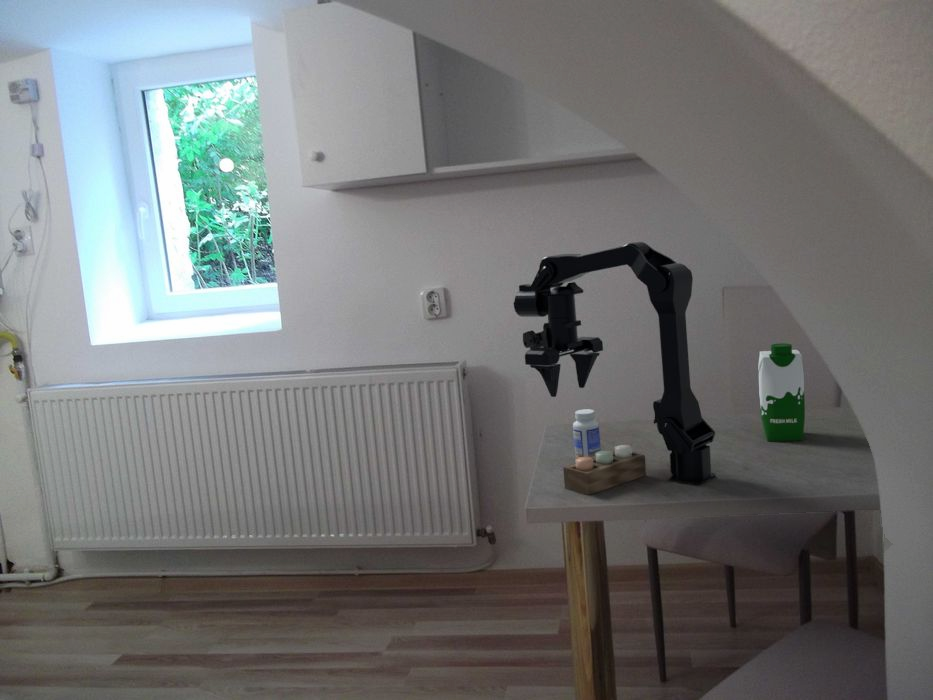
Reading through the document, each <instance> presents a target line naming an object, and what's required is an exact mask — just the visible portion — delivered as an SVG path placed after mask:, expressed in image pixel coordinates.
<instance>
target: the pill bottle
mask: <svg viewBox="0 0 933 700" xmlns="http://www.w3.org/2000/svg"><path fill="white" fill-rule="evenodd" d="M574 415H575V417H574V418H575V420H576V421H574V422H573V424H572V432H573V444H574V445H573V446H574V455H575V459H577V458H581V457H590V458H594V457H596V455H595V453H597V452H600V451H602V448H601V436H600V423H599V421H598V420H596V419H595V418H596V413H595V410H593V409H588V408H587V409H578V410H576V411H575V414H574Z"/></svg>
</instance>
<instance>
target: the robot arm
mask: <svg viewBox="0 0 933 700" xmlns="http://www.w3.org/2000/svg"><path fill="white" fill-rule="evenodd" d="M621 266H628V267H629V268H630V269H631V271H632V272H633V274H634V275H635V277H636V278H637V279H638V280H639V281H640V282H641V283H643V285H645V286H646V289H647V292H648V297H649V301H650V303H651V305H652V306H653V308H654V310H655V312H656V313H657V317H658V328H659V330H658V331H659V340H660V343H659V344H660V356H661V357H660V358H661V369H662V382H663V393H662V396H661V398H660V399H658V400H657V399H656V400H654V401H653V404H652V407H653V408H652V409H653V411H654V419H653V424H655V425H656V428H657V431H658V433H659V435H661V436H662V438H663V440H664V441H663V442H664V444H665V446H666V449H667V450H668V451H671V452H670V453H669V464H670V466H669V467H670V474H671V475H670V476H669V477H668V478H667V479H668V481H672V482H678V483H684V484H689V485H695V486H699V485H700V486H701V485H703V484H704V483H706V482H707V481H710V480H712V479H713V478H715V477H716V476H717V474H716V473H715V472H712V464H711V463H712V460H711V459H712V458H711V446H710V445H708V444H710V443H713V442H714V439H715V436H716V431H715V430H714V429H713V428H712V427H711V426H710V424H708V422H706V420H705V419H704V418H703V417H702V412H701V408H700V403H699V401H698V399H697V398H696V395H695V394H694V392H693V390H692V388H691V375H690V360H689V359H690V358H689V348H688V333H687V332H688V331H687V317H686V313H687V309H688V306H689V302H690V300H691V297H692V292H693V291H692V289H693V280H694V279H693V273H692V271H691V269H689V268H688V267H687V265H685V264H682V263H680V262H676V261H675V260H673V258H671V257H669V256H667V255H665V254H663V253H662V252H659V251H657V250H656V249H654V248H652V247H651V246H650V245H649V244H647V243H646V242H643V241H636V242H630V243H626V244H624V245H622V246H617V247H612V248H611V247H610V248H608V249H603V250H599V251H598V250H597V251H595V252H594V251H592V252H590V253H583V254H581V253H563V254H562V253H561V254H554V255H548V256H545V257H543V258H542V259H541V260H540V263H539V266H538V267H539V269H538V271H537V272H536V275H535V277H534V279H533V281H532V282H531V284H530V283H524V284H520V285H519V286H518V292H517V293H516V294H515V297H514V301H513V308H514V312H515V313H516V314H517V315H518V316H519V317H526V318H528V317H529V318H530V317H533V318H535V317H536V318H537V317H539V318H541V317H543V318H544V317H546V316H547V322H544V323H543V326H542V328H543V329H542V331H539V332H535V331H534V330H532V329H531V330H528V331H525V332H523V333H522V343H523V346H524V348H526V349H529V350H527V351H526V352H525V354H524V364H525V365H526V366H527V365H528V366H529V367H530V368H532V369H535V370H536V371H538V372H539V374H540V375H541V377H542V379H543V381H544V383H545V384H544V385H545V386H546V389H547V391H548V393H549V395H550V397H552V398H556V397H557V395H558V389H559V381H560V374H561V373H560V372H561V365H562V364H561V363H559V360H560V359H561V358H560V357H563V356H567V355H569V356H570V357H571V359H572V360H573V361H574V364H575V371H576V381H577V383H578V388H580V389H584V388H585V386H586V383H587V382H588V379H589V377H590V373H591V372H592V369H593V367H594V365H595V362H596V360H597V358H598V357H599V356H600V355H601V354H600V352H602V351H604V347H603V346H604V345H603V343H604V342H603V341H602V339H601V338H600V337H598V336H596V337H595V336H580V337H578V327H579V326H582V321H581V320H580V319H577V311H576V309H577V308H576V299H575V298H576V297H575V295H579V294H584V292H585V290H584V289H583V288H582V287H581V286H579V285H578V284H577V283H576V282H575V280H577V279H579V278H582V277H584V276H585V275H587V274H590V273H593V272H597V271H601V270H608V269H611V268H617V267H621ZM572 281H573V282H572ZM568 282H569V283H568ZM565 283H567V284H566V285H564V284H565ZM563 285H564V286H563ZM551 289H552V290H551Z"/></svg>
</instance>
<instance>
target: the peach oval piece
mask: <svg viewBox="0 0 933 700" xmlns="http://www.w3.org/2000/svg"><path fill="white" fill-rule="evenodd" d="M574 462H575V463H576V470H579V471H583V472H585V471H588V470H591V469H593V459H592V458H590V457H581V458H575V461H574Z"/></svg>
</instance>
